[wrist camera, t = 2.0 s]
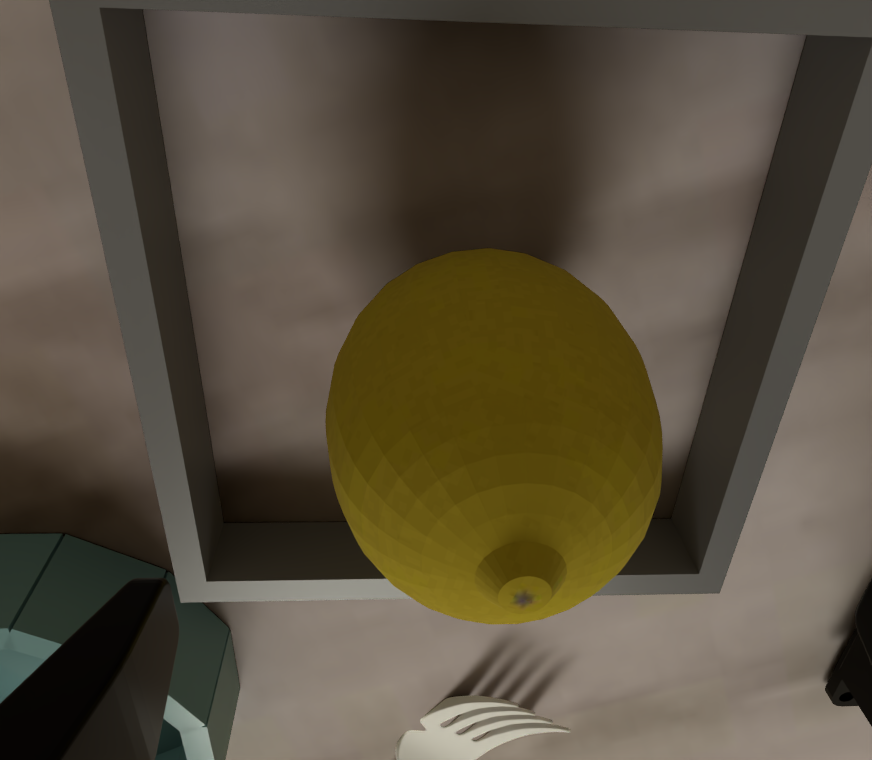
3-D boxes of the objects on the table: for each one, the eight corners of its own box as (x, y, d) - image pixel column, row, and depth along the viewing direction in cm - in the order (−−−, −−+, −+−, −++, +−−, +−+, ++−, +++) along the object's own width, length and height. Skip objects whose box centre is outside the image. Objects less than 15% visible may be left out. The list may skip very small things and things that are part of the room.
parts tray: (859, -15, 12) (933, -11, 11) (690, 537, 19) (719, 593, 18) (90, -49, 12) (37, -51, 10) (199, 543, 18) (180, 602, 17)
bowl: (213, 531, 18) (184, 625, 16) (252, 759, 24) (235, 856, 21) (-206, 536, 18) (-308, 634, 15) (-68, 769, 23) (-126, 871, 20)
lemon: (321, 209, 14) (255, 445, 7) (593, 181, 14) (785, 391, 7) (359, 431, 17) (339, 750, 10) (586, 407, 17) (718, 711, 10)
